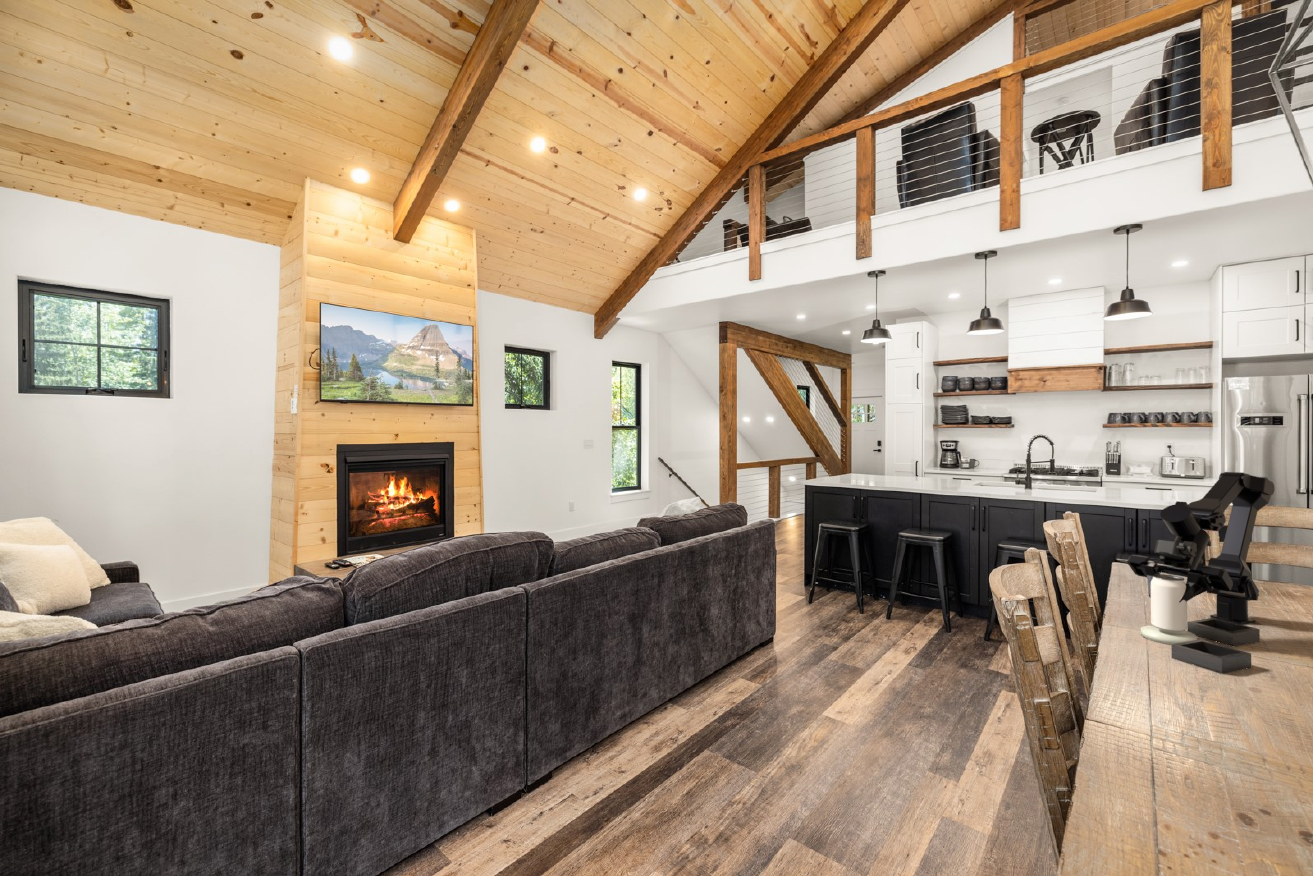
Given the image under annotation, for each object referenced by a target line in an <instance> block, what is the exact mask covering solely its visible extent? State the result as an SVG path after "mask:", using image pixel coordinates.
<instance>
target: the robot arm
mask: <svg viewBox="0 0 1313 876" xmlns="http://www.w3.org/2000/svg"><path fill="white" fill-rule="evenodd" d="M1275 489H1276V488H1275V484H1274V482H1273V481H1271V480H1269V479H1268V477H1265V476H1264V477H1263V476H1255V475H1251V474H1249V473H1245V472H1237V471H1236V472H1235V471H1224V472H1220V474H1219V476H1218V479H1217V481H1216V482H1215V483H1214V484H1213V485H1212V487H1211V488H1210V489H1209V490H1208V492H1206V494H1205V495H1204V496H1203V497H1202V498H1201V499H1198V500H1194V501H1191V502H1189V504H1188V503H1187V501H1175V504H1172V505H1168V506H1166V507H1164V508H1163V509H1162V510H1161V511H1160V518H1161V519H1162V521H1163V522H1164V524H1165V525H1166V527H1167V529H1168V530H1169V531H1170V533H1171V535H1174V536H1176V537H1175V539H1174V541H1173V540H1172V541H1170V540H1164V539H1157V540H1156V541H1155V547H1154V551H1153V552H1154V554H1157V555H1159V560H1160V562H1163V563H1157V562H1156V561H1153V560H1152V559H1151V558H1150V556H1145V555H1139V554H1131V555H1130V556H1128V559H1127V560H1126V563H1127V565H1128V566H1129V567H1130V569H1131V570H1132V572H1133V574H1134V575H1136V576H1138V577H1143V578H1146V579H1147V586H1148V587H1147V589H1148V592H1147V593H1148V597H1149V598H1150V599H1151V580H1152V579H1153V575H1155V574H1166V575H1174V576H1179V577H1182V578H1187V579H1186V582H1185V584H1186V590H1185V593H1184V595H1183V597H1182V599H1181V600H1180V601H1179V602H1181V601H1182V600H1185V601H1186V602H1187V603H1188V601H1190V600H1191V599H1193V598H1195V597H1196V596H1199V595H1201V594H1204V593H1207V594H1212V595H1213V594H1214V595H1216V602H1215V603H1216V608H1215V609H1216V613H1214V614H1209V618H1216V619H1220V620H1224V621H1228V622H1233V623H1237V624H1241V625H1244V624H1247V623H1248V624H1249V623H1255V622H1256V621H1257V620H1256V619H1255V618H1251V617H1249V603H1248V602H1250V601H1258V600H1259V596H1260V593H1259V592H1260V590H1259V588H1258V587H1257V585H1256V583H1255V582H1254V580H1253V576H1252V575H1253V574H1252V572H1251V570H1250V567H1249V566H1248V564H1247V563H1246V562H1247V558H1248V553H1249V549H1250V545H1251V540H1252V535H1253V532H1254V528H1255V523H1256V519H1257V517H1258V516H1257V514H1258V512H1259V511H1260V510H1261V509H1263V508H1264V507H1265V506H1268V504H1269V502H1270V500H1271V498H1272V496H1273V495H1274V493H1275ZM1231 504H1232V506H1231V511H1230V515H1229V519H1228V524H1227V528H1226V531H1225V535H1224V539H1223V544H1222V548H1221V551H1220V554H1219V555H1218V556H1217V557H1210V558H1209V559H1208V562H1207V565H1205V564H1204V565H1202V564H1203V562H1204V560H1203V558H1202V557H1203V554H1204V552H1205V550H1206V547H1211V546H1212V541H1211V540H1210V538H1211V537H1210V535H1209V534H1208V533H1209V531H1211V532H1219V531H1220V530H1221V529H1222V528H1223V527H1224V526H1225V523H1226V521H1227V519H1226V516H1225V511H1226V510H1227V509H1228V508H1229V506H1230V505H1231ZM1207 531H1208V532H1207ZM1199 565H1201V568H1200V570H1199V569H1198V566H1199Z"/></svg>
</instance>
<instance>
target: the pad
mask: <svg viewBox="0 0 1313 876" xmlns="http://www.w3.org/2000/svg"><path fill="white" fill-rule="evenodd" d="M1140 636H1141V637H1142V636H1143V638H1144V637H1145V639H1146V640H1149V641H1152V642H1155V641H1156V642H1155V643H1159V642H1160V643H1159V644H1164V645H1168V646H1171V644H1176V643H1182V642H1187V641H1193V640H1198V637H1197V636H1196V635H1195V634H1193V633H1191V632H1188V630H1185V631H1168V630H1163V629H1160V628H1157V627H1155V626H1153V624H1150V625H1144V626H1141V627H1140Z"/></svg>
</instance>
